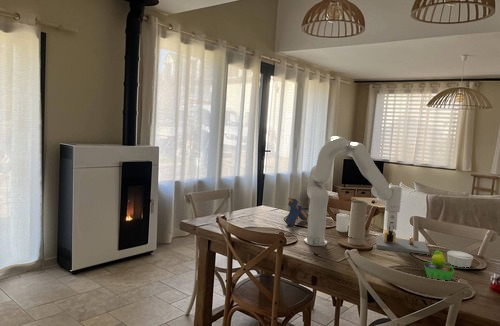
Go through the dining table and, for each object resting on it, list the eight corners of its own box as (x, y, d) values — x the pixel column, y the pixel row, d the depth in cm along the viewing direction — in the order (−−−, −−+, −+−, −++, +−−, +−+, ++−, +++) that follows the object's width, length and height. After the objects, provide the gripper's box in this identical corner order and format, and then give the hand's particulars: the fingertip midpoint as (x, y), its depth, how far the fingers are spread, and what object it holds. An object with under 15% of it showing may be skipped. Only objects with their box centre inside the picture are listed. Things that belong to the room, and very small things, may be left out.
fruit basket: (424, 278, 162) (426, 253, 161) (422, 271, 170) (424, 247, 169) (453, 283, 158) (456, 258, 157) (450, 276, 166) (453, 251, 165)
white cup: (339, 228, 237) (340, 212, 236) (350, 231, 231) (351, 215, 230) (332, 230, 231) (334, 214, 230) (343, 233, 226) (345, 217, 225)
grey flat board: (429, 255, 192) (429, 251, 192) (376, 248, 200) (376, 244, 199) (424, 245, 209) (424, 241, 209) (375, 239, 217) (376, 235, 217)
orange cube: (394, 243, 202) (395, 234, 202) (384, 241, 204) (384, 232, 204) (394, 240, 208) (395, 231, 207) (383, 238, 209) (384, 230, 209)
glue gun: (303, 237, 248) (310, 217, 254) (288, 217, 225) (296, 196, 231) (294, 234, 251) (302, 215, 257) (279, 215, 228) (288, 194, 234)
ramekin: (461, 270, 173) (462, 259, 173) (440, 262, 184) (441, 251, 183) (477, 267, 178) (478, 257, 177) (456, 259, 188) (457, 249, 188)
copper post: (413, 245, 201) (414, 238, 201) (409, 244, 202) (409, 238, 202) (413, 244, 203) (413, 237, 203) (408, 243, 204) (409, 237, 204)
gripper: (401, 212, 195) (397, 245, 197) (398, 206, 211) (395, 237, 213) (385, 210, 197) (382, 243, 199) (384, 204, 213) (381, 235, 215)
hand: (389, 239), depth 206 cm, fingers closed on orange cube, 5 cm apart
